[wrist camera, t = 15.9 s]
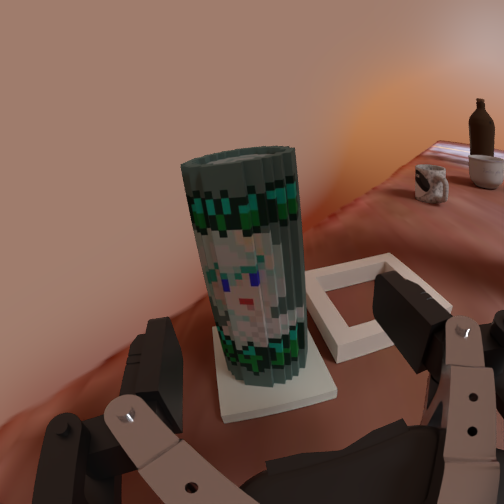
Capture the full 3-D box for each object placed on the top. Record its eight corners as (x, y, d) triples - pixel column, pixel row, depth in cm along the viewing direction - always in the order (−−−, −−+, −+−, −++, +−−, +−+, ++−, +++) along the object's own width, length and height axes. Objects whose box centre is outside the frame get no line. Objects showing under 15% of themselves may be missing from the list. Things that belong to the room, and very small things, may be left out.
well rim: (388, 267, 33) (389, 252, 33) (447, 323, 23) (452, 305, 22) (296, 289, 32) (295, 273, 32) (336, 363, 22) (337, 345, 21)
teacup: (483, 192, 55) (485, 160, 52) (460, 181, 65) (460, 152, 62) (516, 191, 54) (518, 162, 51) (492, 180, 64) (494, 154, 61)
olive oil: (496, 167, 79) (495, 101, 69) (490, 171, 75) (489, 99, 64) (473, 162, 88) (471, 98, 77) (465, 165, 83) (463, 96, 73)
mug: (409, 195, 58) (410, 164, 55) (434, 193, 57) (435, 164, 54) (432, 209, 49) (433, 175, 46) (458, 207, 48) (460, 174, 45)
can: (218, 381, 21) (162, 172, 14) (240, 329, 26) (207, 152, 20) (301, 389, 19) (285, 158, 13) (310, 332, 24) (297, 143, 18)
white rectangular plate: (298, 317, 28) (297, 309, 28) (336, 397, 19) (337, 389, 19) (214, 334, 27) (212, 326, 27) (224, 423, 18) (221, 415, 18)
